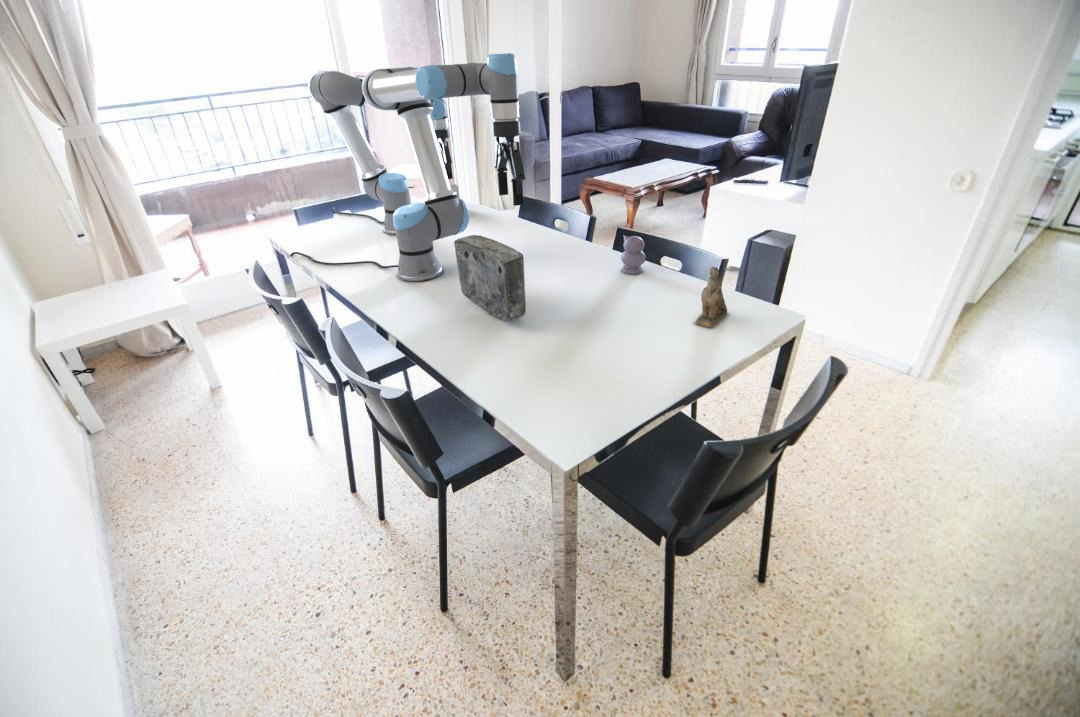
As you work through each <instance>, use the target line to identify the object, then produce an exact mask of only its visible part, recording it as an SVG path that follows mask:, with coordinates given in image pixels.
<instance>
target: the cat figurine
mask: <svg viewBox="0 0 1080 717" xmlns="http://www.w3.org/2000/svg"><path fill="white" fill-rule="evenodd" d="M623 249H624V250H623V252H622V253H621V255H620V260H621V262H622V264H623V265H622V273H624V274H628V275H637V274H640V273H642V265H644V264H645V262H646V254H645V253H644V252H643V251H644V249H645V242H644V239H642V238H641V236H637V235H631V236H627V235H624V234H623Z"/></svg>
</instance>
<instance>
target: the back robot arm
mask: <svg viewBox="0 0 1080 717" xmlns="http://www.w3.org/2000/svg"><path fill="white" fill-rule="evenodd" d="M363 79H364V78H363ZM363 79H362V78H360V77H359V78H358V77H355V76H352V75H349V74H346V73H345V72H341V71H338V70H324V69H323V70H319V71H316V72H313V73H312V74H311V76H310V77H309V79H308V83H307V88H308V92H309V94H310V97H311V98H312V99H313V100H314V101H315V102H316V103H318V104H319V105H320V107H321V109H322V112H323V113H324V114H325V115H327V116H329V117H330V118H331V120H332V121H333V123H334V125H335V126H336V129H337V130H338V132H339V134H340V136H341V138H342V140H343V141H344V143H345V145H346V147H347V148H348V150H349V152H350V154H351V156H352V157H353V160H354V161H355V163H356V165H357V167H358V169H359V170H360V176H359V178H360V179H361V181H362V187H363V188H362V189H363V191H364V192H365V194H366V195H367V196H368V197H369V198H371V199H373V200H375V201H378V202H381V203H382V204H383V210H384V220H383V221H380V220H379V219H377V218H376V217H374V216H371V215H368V214H362V213H353V212H344V211H343V212H342V211H338V210H336V208H335V207H333V208H332V210H333V212H334V213H335V214H340V215H348V216H359V217H366V218H370V219H372V220H374V221H376V222H377V223H379V224H383V231H384V233H385V234H387V235H395V236H396V232H395V228H394V221H393V214H394V212H395V211H396V210H397V209H398V208H400V207H402V206H405V205H408V204H412V202H411V195H410V190H409V182H408V179H407V177H406V176H405V175H404V174H403V173H399V172H388V170H387V168H386V166H385V164H384V165H383V164H382V163H380V162H379V160H378V159H377V156H376V155H375V152H374V150H373V149H372V146H371V145H370V143H369V141H368V139H367V137H366V135H365V133H364V132H363V130H362V128H361V126H360V124H359V121H358V120H357V118H356V116H355V114H354V112H353V110H352V108H351V107H352V106H355V107H361V108H363V107H364V106H369V107H373V106H372V105H370V104H369V103H368V102H367V101H366V99H365V97H364V95H363V92H362V82H363ZM446 103H447V100H446V98H441V99H435V102H434V104H433V105H432V107H433V111H432V113H431V115H430V117H431V121H432V124H433V128H434V131H435V135H436V138H437V142H438V145H439V149H440V153H441V156H442V160H443V163H444V167H445V170H446V174H447V177H448V180H453V179H454V176H453V168H452V164H453V161H452V158H451V152H450V147H449V141H447V139H449V138H450V129H449V123H450V120H449V119H448V110H447V104H446ZM393 111H394V112H397V110H393Z"/></svg>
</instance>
